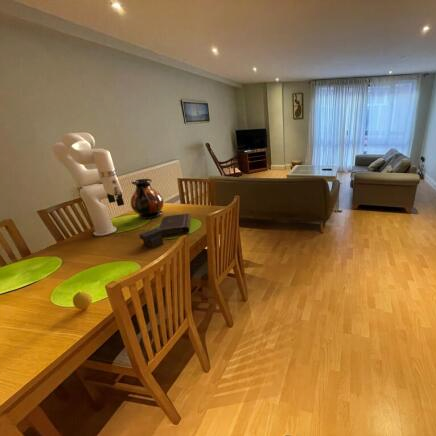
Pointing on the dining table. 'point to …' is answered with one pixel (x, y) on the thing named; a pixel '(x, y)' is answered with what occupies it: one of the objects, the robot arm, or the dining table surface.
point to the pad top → (150, 234)
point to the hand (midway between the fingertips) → (116, 203)
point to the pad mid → (154, 240)
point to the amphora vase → (146, 200)
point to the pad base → (153, 244)
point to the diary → (175, 224)
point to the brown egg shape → (82, 300)
